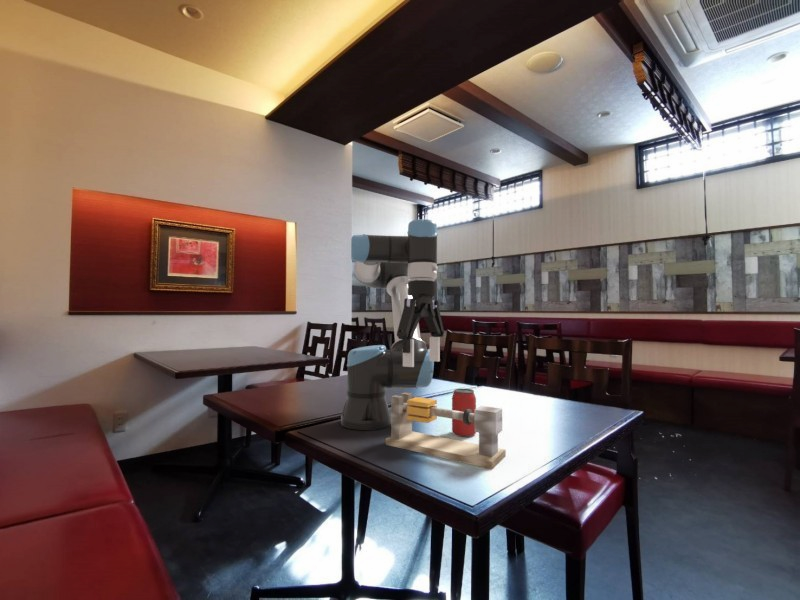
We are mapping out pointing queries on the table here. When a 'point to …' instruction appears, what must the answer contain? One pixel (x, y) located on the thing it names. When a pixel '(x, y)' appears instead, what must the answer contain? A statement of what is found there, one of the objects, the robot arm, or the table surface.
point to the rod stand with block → (476, 454)
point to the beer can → (459, 403)
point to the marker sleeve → (420, 409)
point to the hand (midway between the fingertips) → (422, 363)
